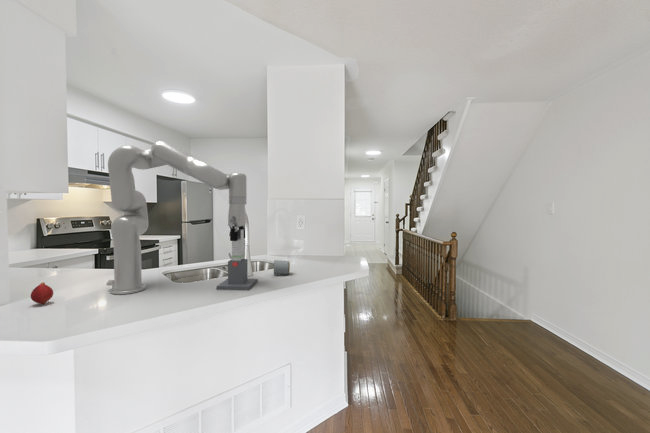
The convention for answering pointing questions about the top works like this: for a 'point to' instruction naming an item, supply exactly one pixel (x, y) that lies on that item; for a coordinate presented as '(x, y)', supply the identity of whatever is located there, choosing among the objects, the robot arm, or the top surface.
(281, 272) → the ceramic mug
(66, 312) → the top surface
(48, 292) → the onion
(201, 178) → the robot arm
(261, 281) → the top surface
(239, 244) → the column
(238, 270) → the stand
